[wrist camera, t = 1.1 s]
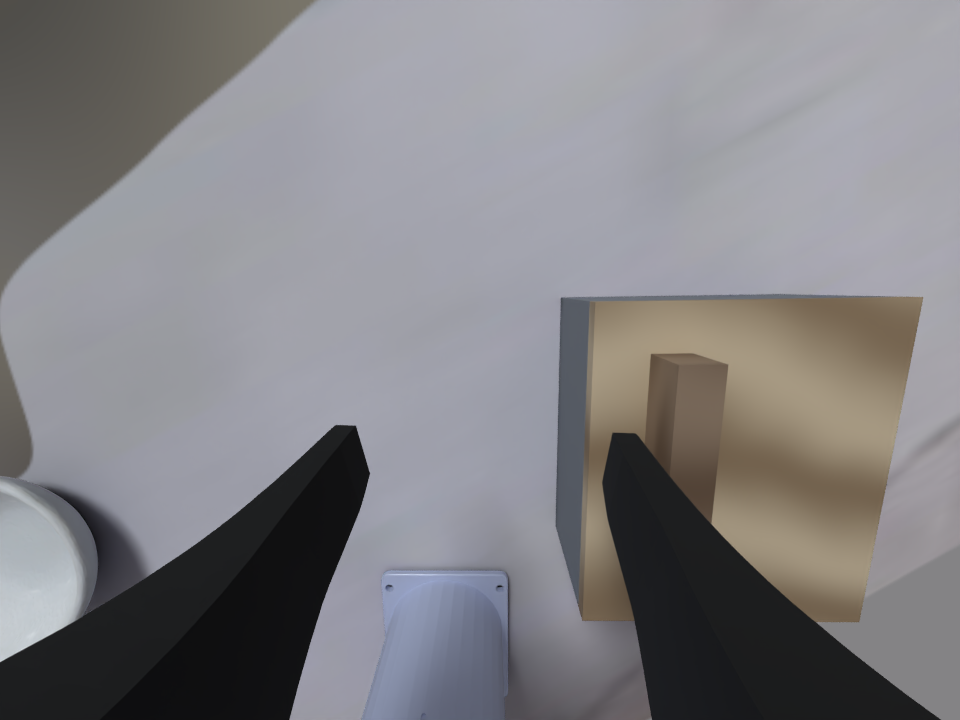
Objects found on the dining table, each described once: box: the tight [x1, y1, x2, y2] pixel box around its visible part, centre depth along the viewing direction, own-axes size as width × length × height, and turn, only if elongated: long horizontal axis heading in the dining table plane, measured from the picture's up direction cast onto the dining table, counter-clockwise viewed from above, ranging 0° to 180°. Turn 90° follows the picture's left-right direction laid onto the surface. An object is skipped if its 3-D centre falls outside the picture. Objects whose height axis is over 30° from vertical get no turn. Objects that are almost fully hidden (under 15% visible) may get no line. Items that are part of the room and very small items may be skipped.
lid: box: [578, 297, 923, 622], centre depth 15 cm, size 14×12×3 cm
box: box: [556, 294, 886, 603], centre depth 19 cm, size 14×12×6 cm
